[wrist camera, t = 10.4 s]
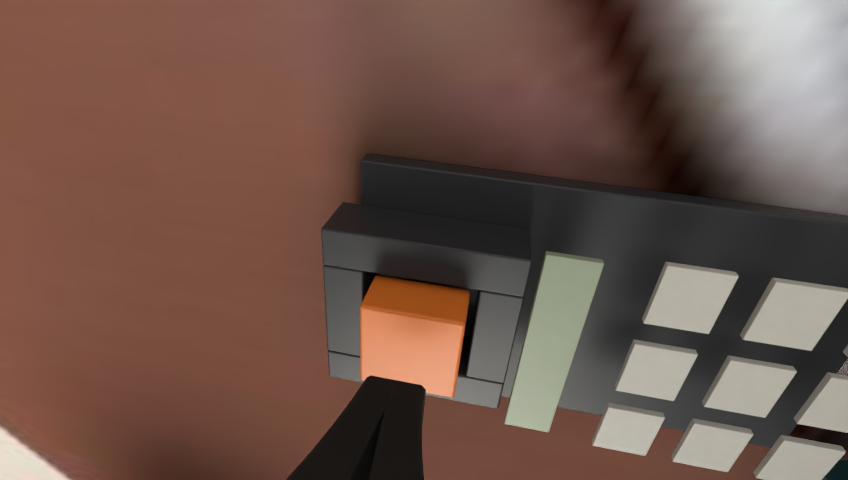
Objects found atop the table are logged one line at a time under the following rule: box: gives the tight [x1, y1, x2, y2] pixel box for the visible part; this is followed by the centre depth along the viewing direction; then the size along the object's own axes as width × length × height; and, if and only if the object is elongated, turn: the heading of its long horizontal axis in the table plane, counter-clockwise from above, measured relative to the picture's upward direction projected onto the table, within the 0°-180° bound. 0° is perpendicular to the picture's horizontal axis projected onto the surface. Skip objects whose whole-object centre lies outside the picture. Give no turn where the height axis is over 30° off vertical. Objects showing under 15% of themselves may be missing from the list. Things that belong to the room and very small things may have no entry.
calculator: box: [321, 154, 848, 448], centre depth 13 cm, size 16×8×2 cm, turn 86°
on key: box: [360, 275, 470, 397], centre depth 13 cm, size 3×3×2 cm
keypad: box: [504, 251, 848, 480], centre depth 12 cm, size 7×9×1 cm
